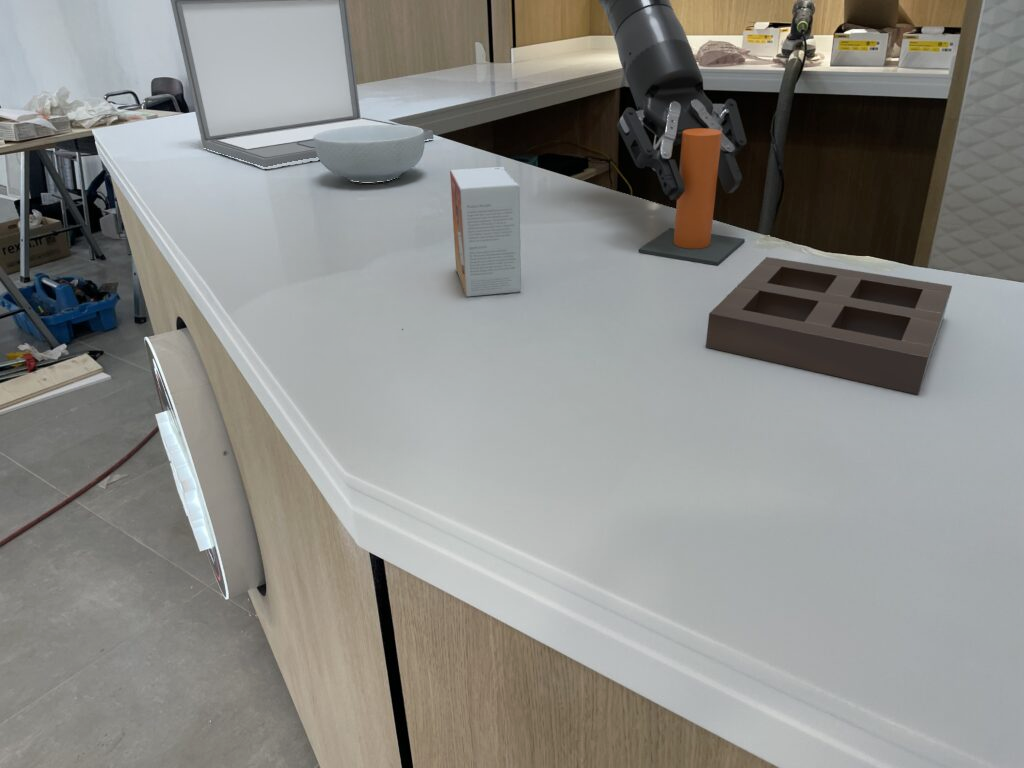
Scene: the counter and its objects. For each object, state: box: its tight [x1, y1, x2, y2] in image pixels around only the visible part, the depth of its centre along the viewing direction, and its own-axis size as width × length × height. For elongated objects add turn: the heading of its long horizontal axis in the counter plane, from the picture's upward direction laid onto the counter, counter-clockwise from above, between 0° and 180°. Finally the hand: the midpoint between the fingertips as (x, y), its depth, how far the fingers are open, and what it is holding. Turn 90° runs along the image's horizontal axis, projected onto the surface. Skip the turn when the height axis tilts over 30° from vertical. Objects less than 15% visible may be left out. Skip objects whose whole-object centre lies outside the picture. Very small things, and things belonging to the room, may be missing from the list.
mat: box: [638, 227, 746, 266], centre depth 82 cm, size 9×9×1 cm
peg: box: [674, 128, 722, 249], centre depth 79 cm, size 4×4×12 cm
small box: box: [449, 166, 522, 298], centre depth 71 cm, size 8×6×10 cm
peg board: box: [705, 256, 953, 396], centre depth 61 cm, size 16×16×3 cm
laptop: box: [170, 0, 434, 167], centre depth 136 cm, size 35×28×26 cm
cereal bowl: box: [314, 124, 426, 182], centre depth 114 cm, size 17×17×7 cm
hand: (706, 192), depth 77 cm, fingers open, 6 cm apart
